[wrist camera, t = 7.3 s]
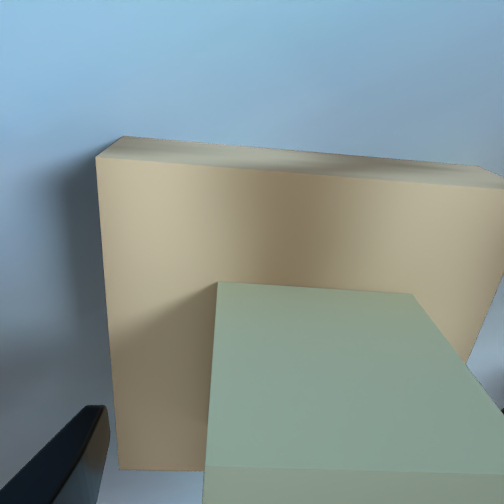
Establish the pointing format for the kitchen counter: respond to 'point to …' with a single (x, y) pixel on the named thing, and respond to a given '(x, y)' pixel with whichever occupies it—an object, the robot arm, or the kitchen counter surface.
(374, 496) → the sage cube
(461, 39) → the kitchen counter surface
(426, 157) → the kitchen counter surface
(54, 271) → the kitchen counter surface
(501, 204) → the oak block
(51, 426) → the kitchen counter surface
